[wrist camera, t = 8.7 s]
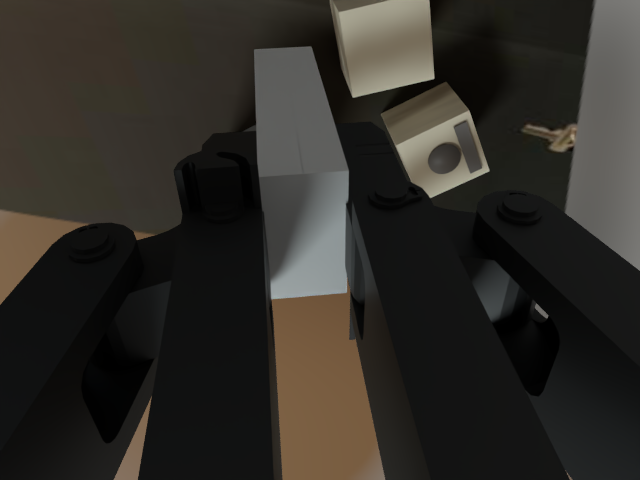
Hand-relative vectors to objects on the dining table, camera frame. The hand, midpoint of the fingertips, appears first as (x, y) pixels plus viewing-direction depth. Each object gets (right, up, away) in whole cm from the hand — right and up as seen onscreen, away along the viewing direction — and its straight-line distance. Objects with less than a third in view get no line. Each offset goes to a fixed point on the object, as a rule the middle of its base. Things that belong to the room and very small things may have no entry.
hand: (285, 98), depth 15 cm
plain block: (+5, +13, +27) cm, 30 cm away
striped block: (+10, +6, +33) cm, 35 cm away
